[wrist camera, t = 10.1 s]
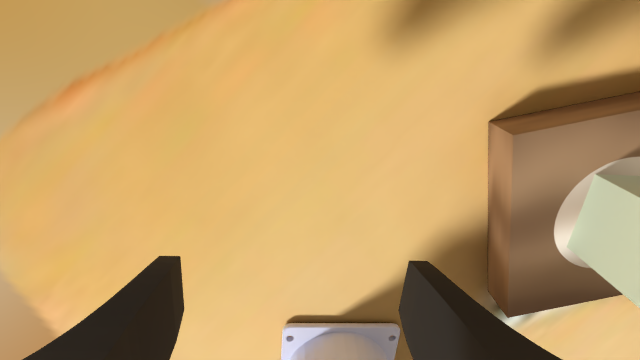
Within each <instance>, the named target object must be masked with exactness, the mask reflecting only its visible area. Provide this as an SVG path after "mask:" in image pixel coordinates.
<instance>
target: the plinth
mask: <svg viewBox="0 0 640 360" xmlns="http://www.w3.org/2000/svg"><path fill="white" fill-rule="evenodd" d="M595 174H603V175H630V176H640V92H635V93H630V94H625V95H620V96H615V97H610V98H605V99H600V100H595V101H590V102H585V103H580V104H575V105H570V106H565V107H560V108H555V109H550V110H545V111H540V112H535V113H530V114H525V115H520V116H515V117H510V118H505V119H500V120H495V121H490V122H489V146H488V292H489V293H490V294H491V296H492V297H493V298H494V300H495V301H496V303H497V304H498V305H499V307H500V308H501V310H502V311H503V312H504V314H505V315H506V316H507V318H509V317H514V316H519V315H524V314H529V313H534V312H539V311H543V310H548V309H553V308H558V307H563V306H568V305H573V304H578V303H583V302H588V301H593V300H598V299H603V298H608V297H613V296H618V295H623V294H622V293H621V292H620V291H619V290H617V289H616V288H615V287H614V286H613V285H611V284H610V283H609V282H608V281H607V280H605V279H604V278H603V277H602V276H601V275H599V274H598V273H597V272H596V271H595V270H593V269H592V268H591V267H590V266H589V265H588V264H586V263H585V262H584V261H583V260H582V259H580V258H579V257H578V256H577V255H576V254H574V253H573V252H572V251H571V250H570V249H568V248H567V245H568V242H569V239H570V237H571V234H572V232H573V229H574V227H575V224H576V222H577V219H578V216H579V214H580V211H581V209H582V206H583V204H584V201H585V198H586V196H587V193H588V191H589V188H590V186H591V183H592V181H593V178H594V175H595Z"/></svg>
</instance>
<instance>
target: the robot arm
mask: <svg viewBox="0 0 640 360" xmlns="http://www.w3.org/2000/svg"><path fill="white" fill-rule="evenodd" d="M183 312H184V300H183V287H182V273H181V260H180V256H159V257H158V258H157V259H155V260H154V261H153V262H152V263H151V264H150V265H148V266H147V267H146V268H145V269H144V270H143V271H142V272H141V273H139V274H138V275H137V276H136V277H135V278H134V279H133V280H132V281H130V282H129V283H128V284H127V285H126V286H125V287H124V288H122V289H121V290H120V291H119V292H118V293H116V294H115V295H114V296H113V297H112V298H111V299H109V300H108V301H107V302H106V303H104V304H103V305H102V306H101V307H99V308H98V309H97V310H95V311H94V312H93V313H92V314H90V315H89V316H88V317H86V318H85V319H84V320H83V321H81V322H80V323H78V324H77V325H76V326H74V327H73V328H71V329H70V330H68V331H67V332H66V333H64V334H63V335H61V336H60V337H58V338H57V339H55V340H54V341H52V342H51V343H49V344H47V345H46V346H44V347H43V348H41V349H40V350H38V351H36V352H35V353H33V354H31V355H29V356H28V357H26V358H24V359H23V360H169V359H170V357H171V354H172V351H173V349H174V346H175V343H176V341H177V337H178V333H179V329H180V325H181V321H182V316H183ZM399 314H400V318H401V322H402V327H403V331H404V334H405V338H406V341H407V344H408V347H409V349H410V352H411V355H412V357H413V360H562V359H560V358H558V357H556V356H555V355H553V354H551V353H550V352H548V351H546V350H545V349H543V348H541V347H540V346H538V345H536V344H535V343H533V342H532V341H530V340H529V339H527V338H526V337H524V336H522V335H521V334H519V333H518V332H516V331H515V330H513V329H512V328H511V327H509V326H508V325H506V324H505V323H504V322H502V321H501V320H499V319H498V318H497V317H495V316H494V315H493V314H491V313H490V312H489V311H487V310H486V309H485V308H484V307H482V306H481V305H480V304H478V303H477V302H476V301H475V300H473V299H472V298H471V297H470V296H469V295H467V294H466V293H465V292H464V291H463V290H461V289H460V288H459V287H458V286H457V285H455V284H454V283H453V282H452V281H451V280H450V279H448V278H447V277H446V276H445V275H444V274H442V273H441V272H440V271H439V270H438V269H437V268H435V267H434V266H433V265H432V264H430V263H429V262H428V261H409V263H408V268H407V273H406V277H405V282H404V287H403V292H402V296H401V301H400V306H399ZM392 335H393V336H392ZM287 336H292V337H287ZM390 336H391V337H390ZM399 336H400V328H399V326H398V325H397V324H394V323H289V324H286V325H285V326H284V327H283V332H282V350H281V360H394V359H395V354H396V349H397V345H398V340H399Z"/></svg>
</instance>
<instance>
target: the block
mask: <svg viewBox="0 0 640 360" xmlns="http://www.w3.org/2000/svg"><path fill="white" fill-rule="evenodd" d="M567 248H568V249H570V250H571V251H572V252H573V253H574V254H576V255H577V256H578V257H579V258H580V259H582V260H583V261H584V262H585V263H586V264H588V265H589V266H590V267H591V268H592V269H593V270H595V271H596V272H597V273H598V274H599V275H601V276H602V277H603V278H604V279H605V280H607V281H608V282H609V283H610V284H611V285H613V286H614V287H615V288H616V289H617V290H619V291H620V292H621V293H622V294H623V295H625V296H626V297H627V298H628V299H629V300H630V301H632V302H633V303H634V304H635V305H636V306H638V307H639V308H640V176H630V175H603V174H595V175H594V178H593V181H592V183H591V186H590V188H589V191H588V193H587V196H586V198H585V201H584V204H583V206H582V209H581V211H580V214H579V216H578V219H577V222H576V224H575V227H574V229H573V232H572V234H571V237H570V239H569V242H568V245H567Z"/></svg>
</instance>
